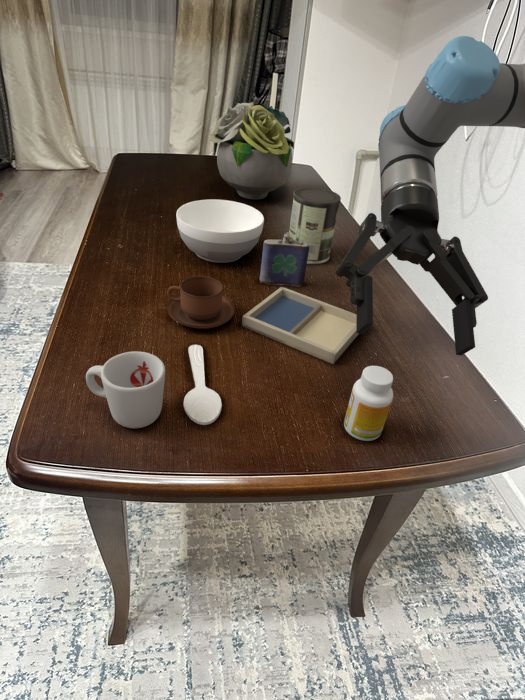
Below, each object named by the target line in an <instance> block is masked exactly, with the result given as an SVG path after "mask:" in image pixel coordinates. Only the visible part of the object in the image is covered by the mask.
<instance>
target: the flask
mask: <svg viewBox="0 0 525 700" xmlns="http://www.w3.org/2000/svg"><path fill="white" fill-rule="evenodd" d="M283 234H284V235H283V237H282V239H265V240H264V241H263V244H262V254H261V255H262V256H261V264H260V274H259V282H260V284H264V285H275V286H287V287H288V286H292V287H303V285H304V283H305V278H306V271H307V265H308V264H307V259H308V253H309V244H307V243H306V242H302V241H301V240H298V241H297V240H293V239H292V238H291V237H290V232H289V231H287V232H283ZM299 241H300V242H299Z"/></svg>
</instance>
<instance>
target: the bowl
mask: <svg viewBox="0 0 525 700" xmlns="http://www.w3.org/2000/svg"><path fill="white" fill-rule="evenodd" d="M264 224H265V218H264V215H263V213H262V212H261V211H260V210H259V209H256V208H255V207H253V206H251V205H248V204H246V203H242V202H237V201H234V200H227V199H200V200H193V201H190V202H187V203H184V204H183V205H181V206H180V207H179V208H178V209H177V210H176V225H177V229H178V232H179V236H180V238H181V240H182V241H183V243H184V244H185V246H186V247H187V248H188V249H189V250H190V251H191V252H193V253H195V255H196V257H198V258H200V259H202V260H204V261H207V262H211V263H219V264H220V263H221V264H226V263H232V262H236V261H238V260H240V259H241V258H242V257H243V256H245V255H247V254H249V253H250V252H251V251H252V250H253V249H254V248H255V247H256V245H257V244H258V243H259V240H260V237H261V234H262V232H263V229H264Z"/></svg>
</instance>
